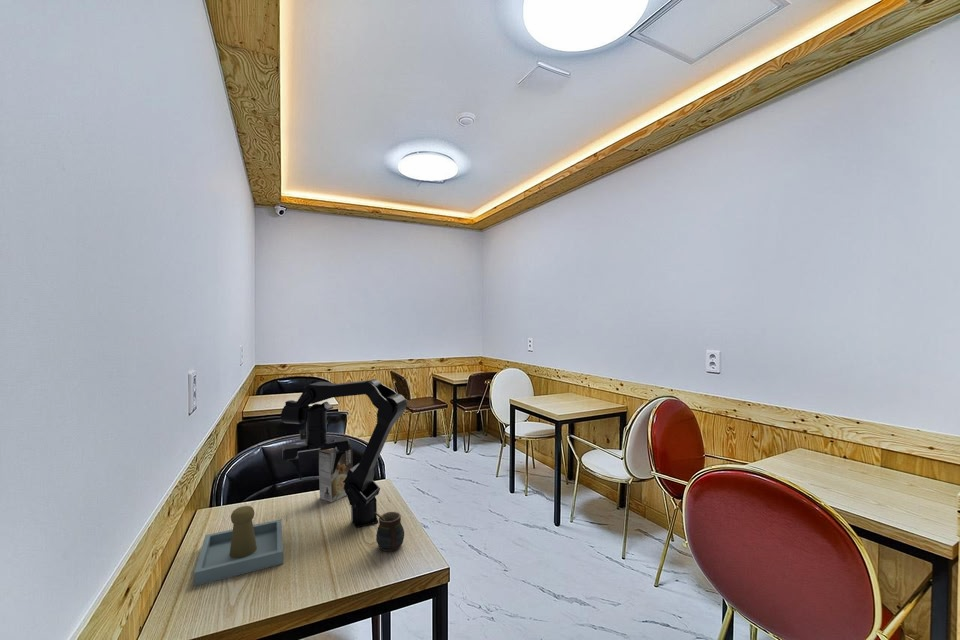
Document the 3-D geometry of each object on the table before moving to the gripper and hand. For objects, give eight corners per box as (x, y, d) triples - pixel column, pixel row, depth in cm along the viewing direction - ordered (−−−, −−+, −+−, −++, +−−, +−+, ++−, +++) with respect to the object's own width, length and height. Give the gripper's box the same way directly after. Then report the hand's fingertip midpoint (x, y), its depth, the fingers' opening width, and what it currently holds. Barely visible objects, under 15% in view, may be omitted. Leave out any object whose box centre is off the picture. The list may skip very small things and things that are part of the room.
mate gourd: (408, 549, 107) (407, 511, 106) (379, 558, 103) (378, 519, 103) (399, 536, 113) (398, 500, 113) (372, 544, 109) (371, 507, 109)
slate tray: (281, 529, 117) (281, 519, 117) (283, 563, 101) (282, 551, 101) (205, 546, 109) (205, 534, 109) (194, 586, 93) (194, 572, 93)
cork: (233, 561, 101) (232, 516, 101) (226, 551, 105) (225, 508, 105) (260, 551, 105) (259, 508, 105) (252, 542, 109) (252, 500, 109)
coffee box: (341, 488, 145) (340, 442, 144) (354, 492, 141) (353, 445, 141) (318, 498, 137) (318, 450, 137) (331, 503, 133) (330, 453, 133)
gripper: (344, 415, 136) (345, 462, 136) (281, 422, 128) (282, 472, 128) (350, 422, 126) (350, 473, 126) (282, 431, 118) (283, 485, 118)
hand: (317, 476), depth 125 cm, fingers open, 9 cm apart
